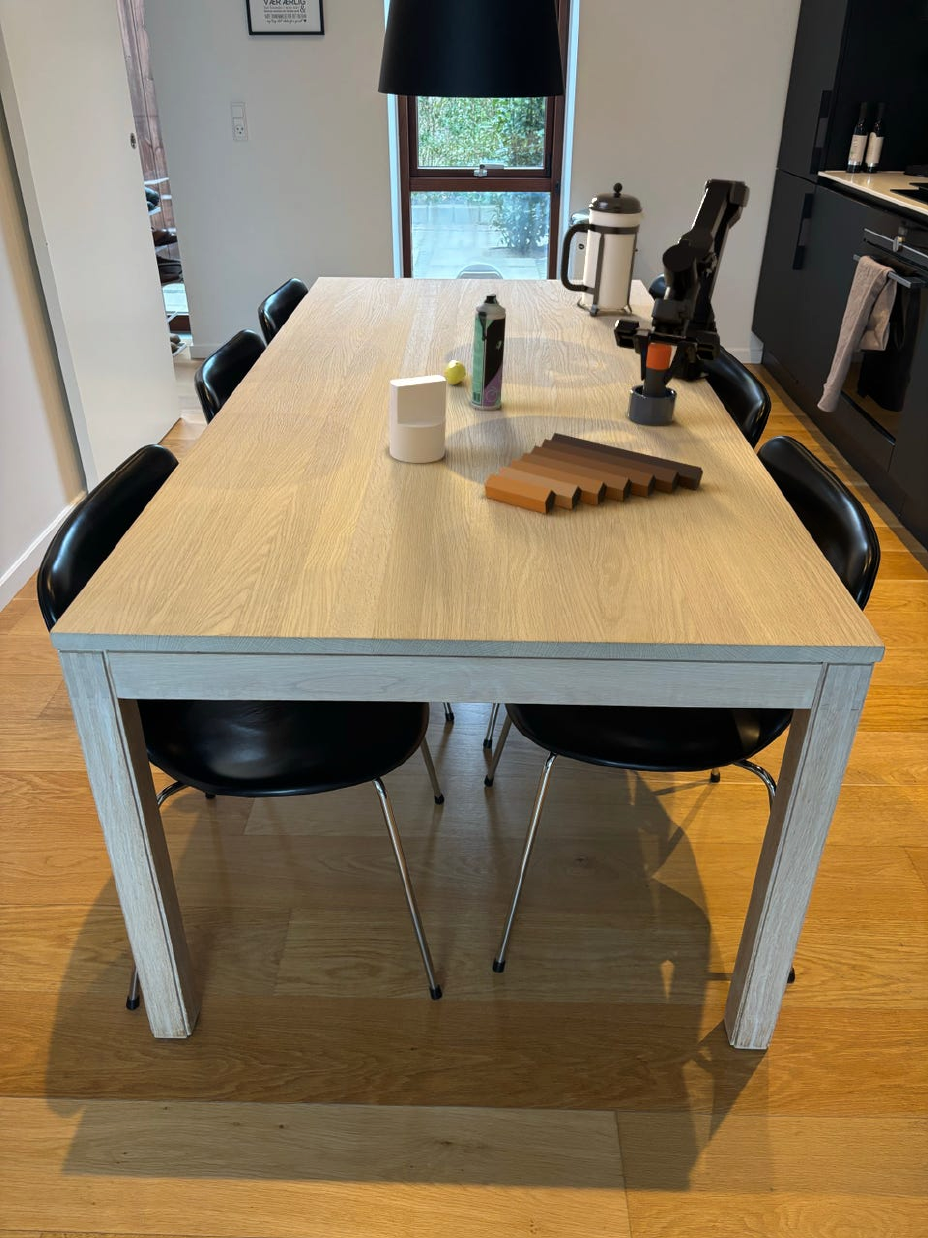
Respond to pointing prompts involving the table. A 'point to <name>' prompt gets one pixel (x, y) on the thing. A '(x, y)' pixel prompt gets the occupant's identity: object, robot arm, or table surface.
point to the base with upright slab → (418, 419)
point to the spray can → (488, 354)
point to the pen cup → (651, 407)
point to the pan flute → (585, 475)
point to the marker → (656, 370)
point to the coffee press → (606, 251)
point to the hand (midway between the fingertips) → (653, 381)
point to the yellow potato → (455, 372)
